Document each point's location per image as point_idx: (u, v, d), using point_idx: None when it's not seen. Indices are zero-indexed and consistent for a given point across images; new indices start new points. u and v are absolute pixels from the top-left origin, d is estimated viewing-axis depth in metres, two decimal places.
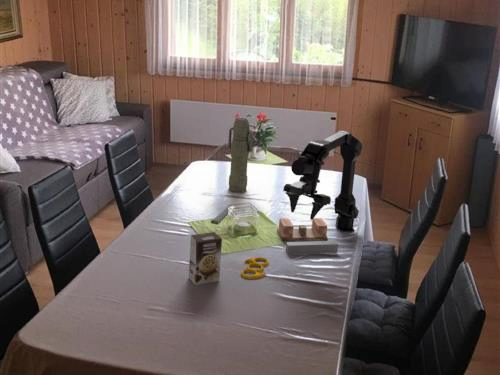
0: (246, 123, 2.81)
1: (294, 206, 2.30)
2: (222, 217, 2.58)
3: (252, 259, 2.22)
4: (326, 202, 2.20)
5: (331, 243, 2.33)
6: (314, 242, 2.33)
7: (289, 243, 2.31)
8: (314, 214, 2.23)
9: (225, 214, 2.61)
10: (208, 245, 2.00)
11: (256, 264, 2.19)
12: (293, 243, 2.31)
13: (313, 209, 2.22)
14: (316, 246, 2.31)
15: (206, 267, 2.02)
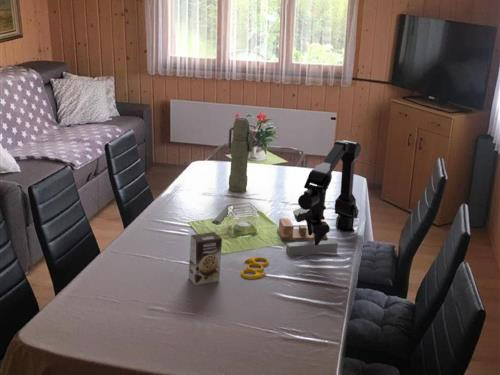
0: (246, 123, 2.81)
1: (311, 229, 2.35)
2: (223, 217, 2.58)
3: (252, 259, 2.22)
4: (321, 231, 2.21)
5: (331, 242, 2.34)
6: (314, 242, 2.33)
7: (290, 244, 2.30)
8: (317, 240, 2.26)
9: (225, 214, 2.61)
10: (208, 245, 2.00)
11: (256, 264, 2.19)
12: (294, 244, 2.30)
13: (314, 236, 2.25)
14: (316, 246, 2.32)
15: (206, 267, 2.02)
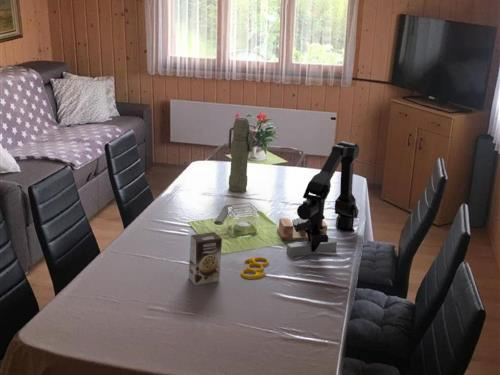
0: (246, 123, 2.81)
1: None
2: (224, 217, 2.58)
3: (252, 259, 2.22)
4: (320, 240, 2.22)
5: (330, 241, 2.34)
6: None
7: (290, 245, 2.29)
8: (314, 247, 2.30)
9: (225, 214, 2.61)
10: (208, 245, 2.00)
11: (256, 264, 2.19)
12: (294, 244, 2.30)
13: (311, 242, 2.29)
14: None
15: (206, 267, 2.02)
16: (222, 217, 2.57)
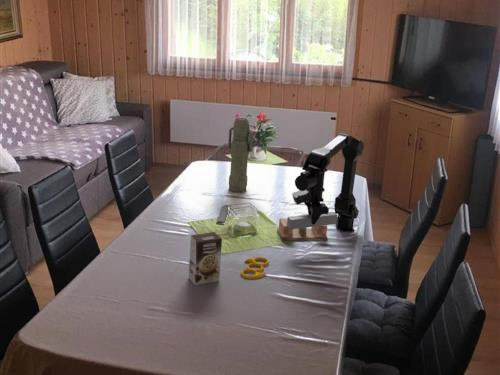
0: (246, 123, 2.81)
1: None
2: (225, 217, 2.58)
3: (252, 259, 2.22)
4: (321, 212, 2.23)
5: (330, 214, 2.35)
6: None
7: (291, 217, 2.30)
8: (314, 219, 2.31)
9: (226, 214, 2.61)
10: (208, 245, 2.00)
11: (256, 264, 2.19)
12: (294, 217, 2.30)
13: (311, 215, 2.30)
14: None
15: (206, 267, 2.02)
16: (223, 217, 2.57)
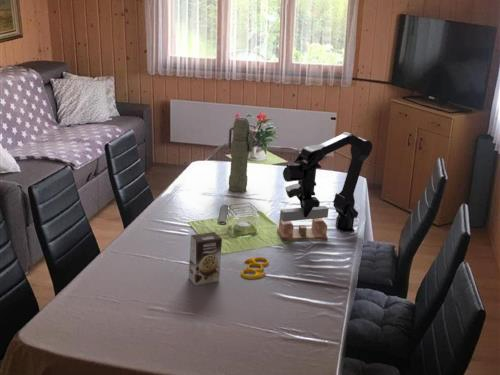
0: (246, 123, 2.81)
1: None
2: (225, 217, 2.58)
3: (252, 259, 2.22)
4: (312, 205, 2.33)
5: (322, 208, 2.45)
6: None
7: (283, 210, 2.40)
8: (306, 212, 2.41)
9: (226, 214, 2.61)
10: (208, 245, 2.00)
11: (256, 264, 2.19)
12: (287, 210, 2.41)
13: (303, 208, 2.40)
14: None
15: (206, 267, 2.02)
16: (224, 217, 2.57)
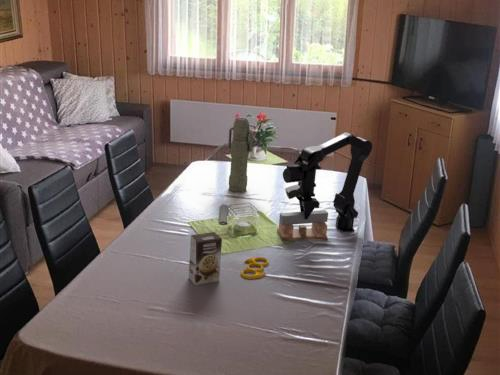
0: (246, 123, 2.81)
1: (303, 208, 2.46)
2: (226, 217, 2.58)
3: (252, 259, 2.22)
4: (312, 206, 2.33)
5: (321, 212, 2.46)
6: None
7: (283, 214, 2.41)
8: (306, 214, 2.40)
9: (226, 214, 2.61)
10: (208, 245, 2.00)
11: (256, 264, 2.19)
12: (287, 214, 2.42)
13: (304, 210, 2.40)
14: None
15: (206, 267, 2.02)
16: (225, 217, 2.57)
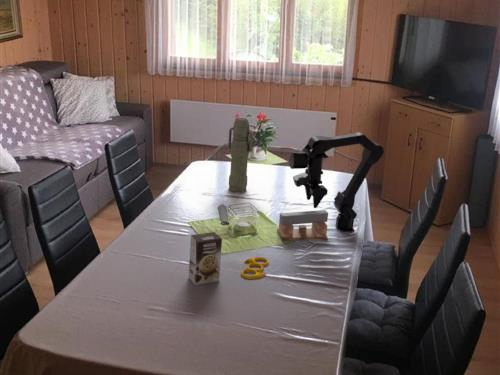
0: (246, 123, 2.81)
1: (309, 194, 2.53)
2: (227, 217, 2.58)
3: (252, 259, 2.22)
4: (320, 193, 2.38)
5: (321, 212, 2.46)
6: (306, 212, 2.45)
7: (283, 214, 2.41)
8: (316, 203, 2.44)
9: (226, 214, 2.62)
10: (208, 245, 2.00)
11: (256, 264, 2.19)
12: (287, 214, 2.42)
13: (313, 199, 2.43)
14: (308, 216, 2.43)
15: (206, 267, 2.02)
16: (226, 217, 2.57)
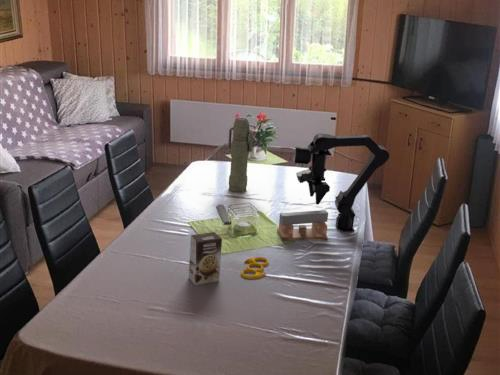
0: (246, 123, 2.81)
1: (312, 191, 2.56)
2: None
3: (252, 259, 2.22)
4: (322, 190, 2.42)
5: (321, 212, 2.46)
6: (306, 212, 2.45)
7: (283, 214, 2.41)
8: (318, 200, 2.47)
9: (226, 214, 2.62)
10: (208, 245, 2.00)
11: (256, 264, 2.19)
12: (287, 214, 2.42)
13: None
14: (308, 216, 2.43)
15: (206, 267, 2.02)
16: (227, 217, 2.57)
